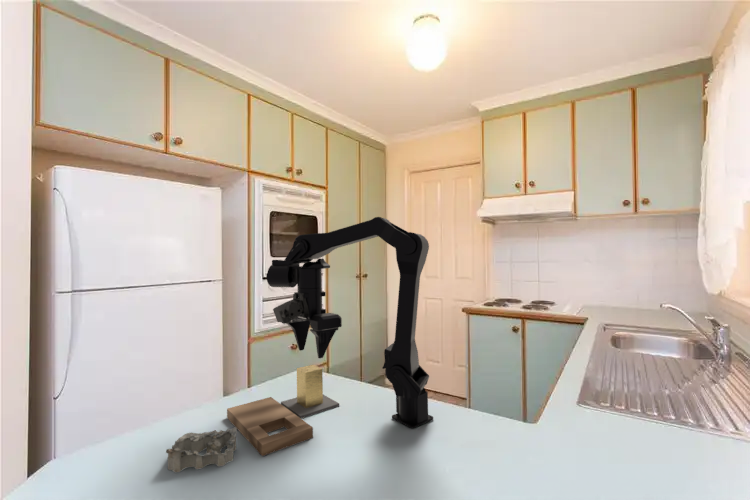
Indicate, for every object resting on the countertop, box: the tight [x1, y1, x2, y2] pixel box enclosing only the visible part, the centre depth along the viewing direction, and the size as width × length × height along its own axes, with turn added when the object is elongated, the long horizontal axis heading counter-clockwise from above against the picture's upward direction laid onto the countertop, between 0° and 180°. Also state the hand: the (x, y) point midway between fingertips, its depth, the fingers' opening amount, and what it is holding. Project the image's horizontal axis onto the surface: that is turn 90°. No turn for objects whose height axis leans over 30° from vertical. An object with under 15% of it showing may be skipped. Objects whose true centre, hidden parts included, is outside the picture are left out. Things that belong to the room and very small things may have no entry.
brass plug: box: [296, 364, 324, 408], centre depth 85 cm, size 4×4×8 cm
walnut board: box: [226, 396, 314, 457], centre depth 74 cm, size 20×10×2 cm, turn 39°
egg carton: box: [165, 426, 238, 473], centre depth 63 cm, size 11×8×4 cm
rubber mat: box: [280, 394, 340, 419], centre depth 85 cm, size 10×10×1 cm
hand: (310, 353), depth 85 cm, fingers open, 9 cm apart
